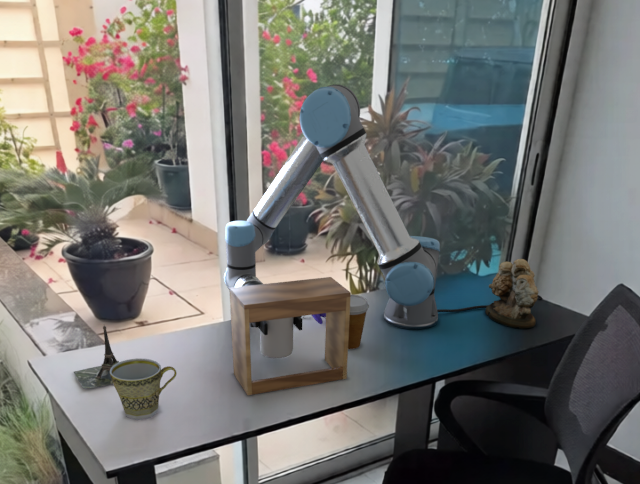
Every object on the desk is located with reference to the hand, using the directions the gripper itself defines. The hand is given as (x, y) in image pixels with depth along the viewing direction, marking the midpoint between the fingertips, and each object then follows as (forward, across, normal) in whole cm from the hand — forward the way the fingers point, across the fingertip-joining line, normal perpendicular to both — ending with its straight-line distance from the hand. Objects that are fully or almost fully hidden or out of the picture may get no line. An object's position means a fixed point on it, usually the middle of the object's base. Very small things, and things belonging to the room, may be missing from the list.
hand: (283, 327), depth 151 cm
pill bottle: (-5, 0, -9) cm, 10 cm away
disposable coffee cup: (-7, -20, -11) cm, 24 cm away
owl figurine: (-9, -72, -11) cm, 74 cm away
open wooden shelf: (+5, 0, -11) cm, 12 cm away
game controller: (-25, -20, -11) cm, 34 cm away
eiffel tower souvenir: (-10, +38, -11) cm, 41 cm away
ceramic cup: (+9, +34, -11) cm, 36 cm away
